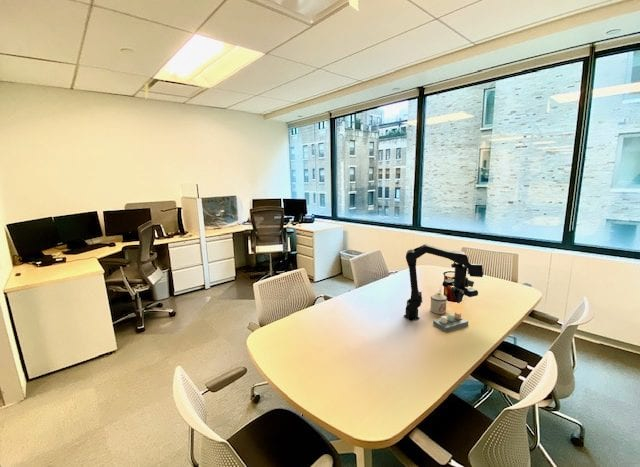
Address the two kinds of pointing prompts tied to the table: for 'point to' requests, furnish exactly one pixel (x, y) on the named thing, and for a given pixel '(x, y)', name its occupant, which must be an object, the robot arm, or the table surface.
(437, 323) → the panel
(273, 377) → the table surface
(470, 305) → the table surface
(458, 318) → the terracotta button
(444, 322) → the cream button
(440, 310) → the teacup with lid
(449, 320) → the sage button
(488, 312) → the table surface
